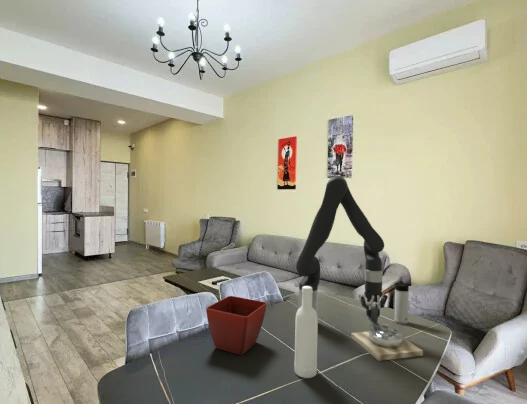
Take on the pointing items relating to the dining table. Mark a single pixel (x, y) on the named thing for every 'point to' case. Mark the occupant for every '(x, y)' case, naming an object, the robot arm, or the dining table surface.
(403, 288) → the travel mug
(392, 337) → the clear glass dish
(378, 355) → the base plate
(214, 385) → the dining table surface
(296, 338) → the bottle
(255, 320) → the plant pot
